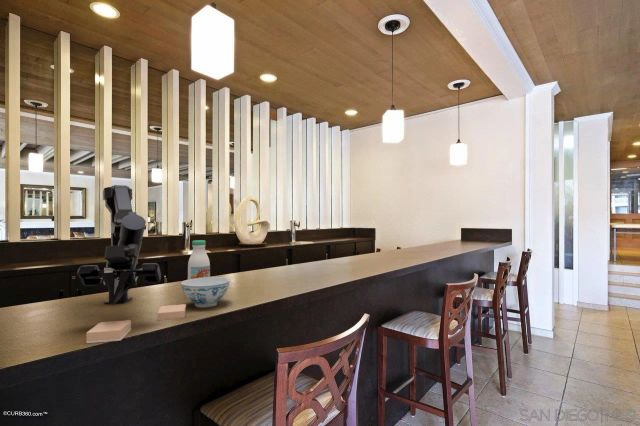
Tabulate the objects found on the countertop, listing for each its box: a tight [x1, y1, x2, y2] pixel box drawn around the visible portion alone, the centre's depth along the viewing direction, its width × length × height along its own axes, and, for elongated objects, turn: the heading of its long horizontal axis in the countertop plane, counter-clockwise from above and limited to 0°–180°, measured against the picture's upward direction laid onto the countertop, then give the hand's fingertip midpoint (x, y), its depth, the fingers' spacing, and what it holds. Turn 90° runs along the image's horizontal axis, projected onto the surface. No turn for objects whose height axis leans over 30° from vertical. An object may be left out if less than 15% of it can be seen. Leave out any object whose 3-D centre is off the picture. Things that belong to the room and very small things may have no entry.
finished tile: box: [157, 303, 187, 321], centre depth 100 cm, size 8×7×2 cm
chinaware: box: [180, 276, 231, 308], centre depth 111 cm, size 15×15×8 cm
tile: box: [85, 319, 132, 344], centre depth 82 cm, size 2×7×8 cm
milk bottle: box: [187, 239, 211, 280], centre depth 126 cm, size 8×8×20 cm
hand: (113, 302), depth 84 cm, fingers closed
